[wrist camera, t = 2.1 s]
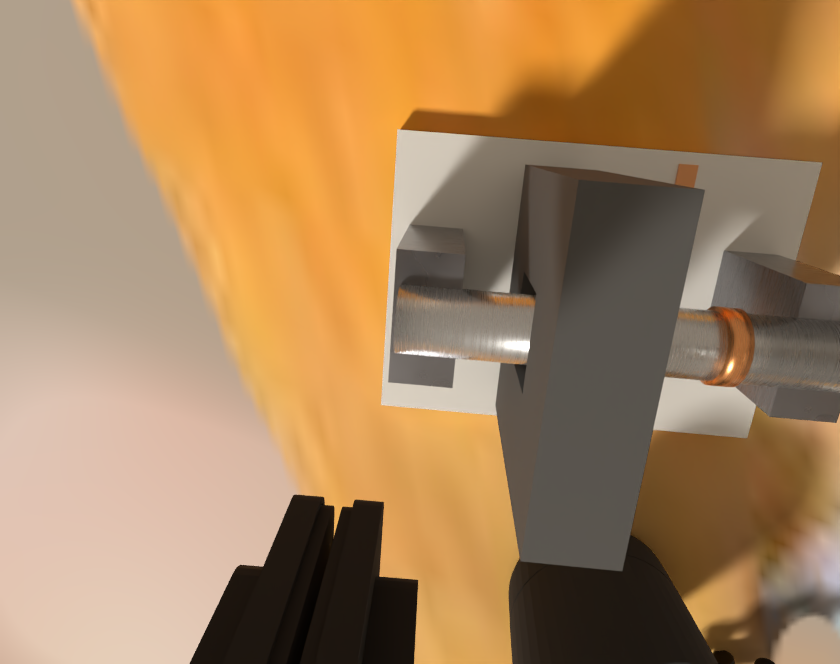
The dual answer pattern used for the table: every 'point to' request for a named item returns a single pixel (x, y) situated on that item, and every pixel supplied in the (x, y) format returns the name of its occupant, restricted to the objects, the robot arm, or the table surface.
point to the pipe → (692, 342)
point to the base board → (506, 157)
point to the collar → (590, 355)
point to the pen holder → (602, 615)
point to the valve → (727, 659)
